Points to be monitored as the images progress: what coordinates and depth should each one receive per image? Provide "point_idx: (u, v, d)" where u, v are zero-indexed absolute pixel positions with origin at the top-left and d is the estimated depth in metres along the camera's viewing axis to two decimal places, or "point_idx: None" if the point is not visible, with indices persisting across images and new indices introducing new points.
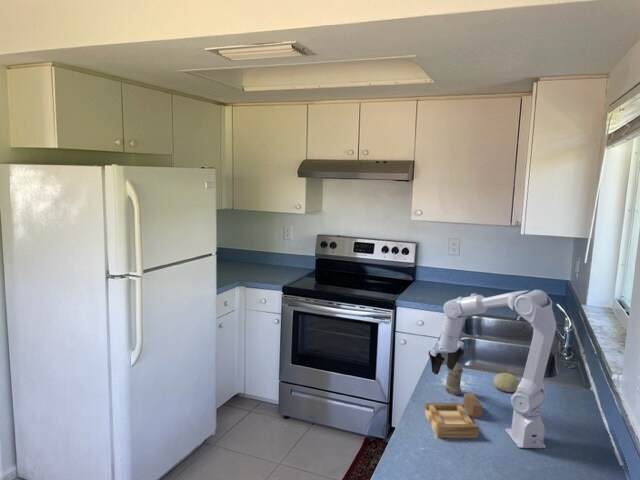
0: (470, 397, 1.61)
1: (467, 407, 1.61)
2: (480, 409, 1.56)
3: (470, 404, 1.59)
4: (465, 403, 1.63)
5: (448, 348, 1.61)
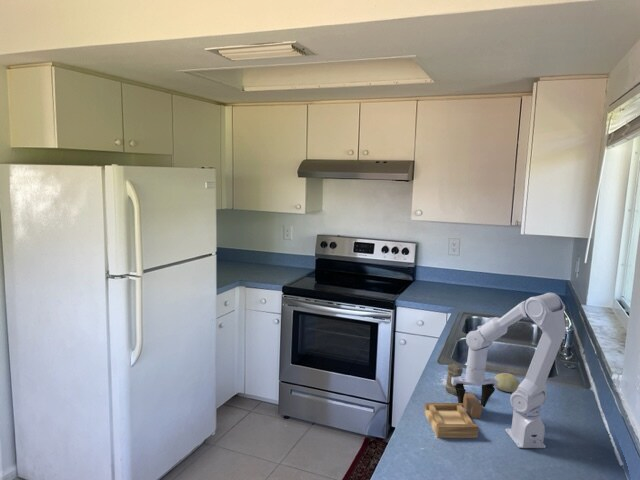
0: (470, 397, 1.61)
1: (466, 407, 1.61)
2: (480, 409, 1.56)
3: (469, 404, 1.58)
4: (465, 403, 1.63)
5: (470, 380, 1.57)
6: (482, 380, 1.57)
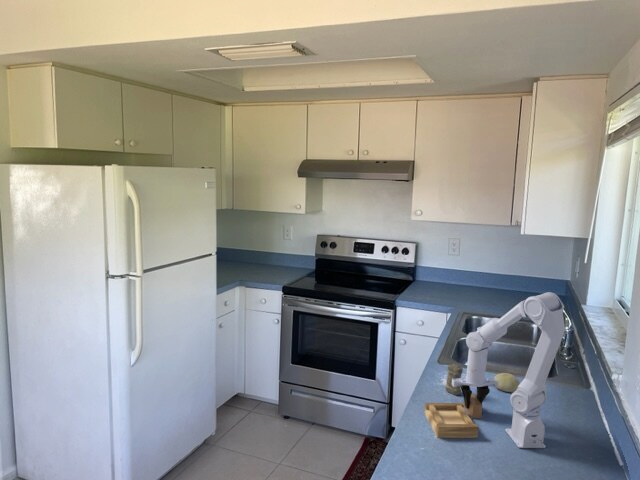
0: None
1: None
2: (480, 409, 1.56)
3: (470, 404, 1.58)
4: None
5: (471, 381, 1.57)
6: (483, 381, 1.57)
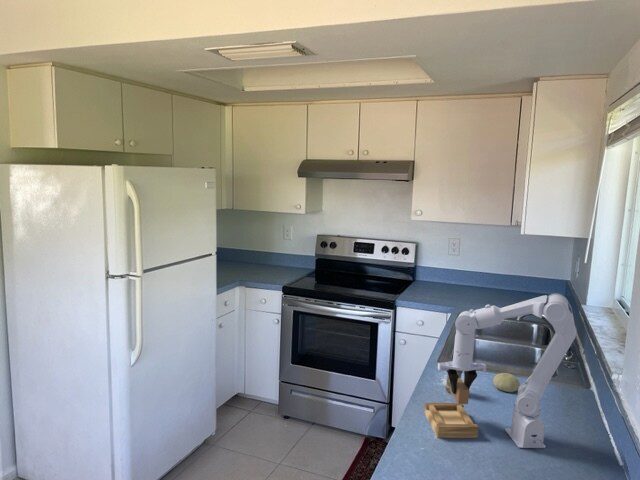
0: (457, 381, 1.54)
1: None
2: (467, 394, 1.49)
3: (456, 389, 1.51)
4: None
5: (457, 365, 1.50)
6: (470, 365, 1.50)
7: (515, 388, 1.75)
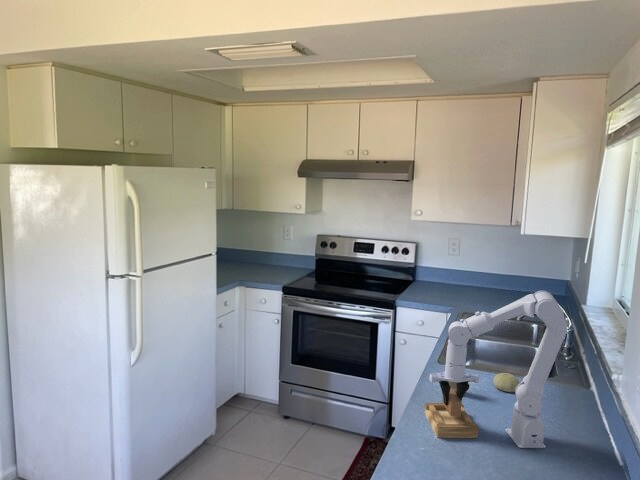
0: (449, 393, 1.52)
1: None
2: (459, 406, 1.47)
3: (449, 401, 1.49)
4: None
5: (449, 376, 1.47)
6: (462, 376, 1.47)
7: (515, 388, 1.75)
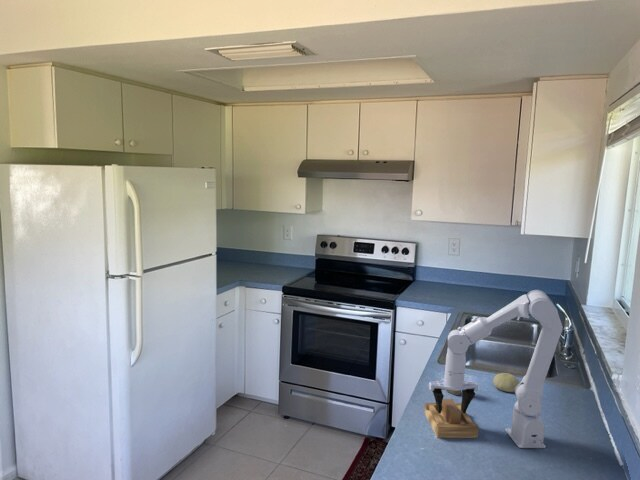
0: (449, 403, 1.52)
1: (445, 414, 1.52)
2: (459, 416, 1.47)
3: (448, 411, 1.49)
4: (444, 409, 1.54)
5: (449, 385, 1.48)
6: (461, 385, 1.48)
7: (515, 388, 1.75)
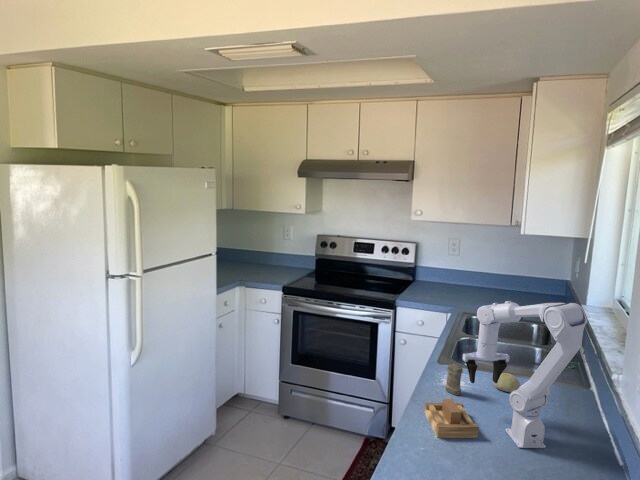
0: (449, 403, 1.52)
1: (445, 414, 1.52)
2: (459, 416, 1.47)
3: (448, 411, 1.49)
4: (444, 409, 1.54)
5: (482, 356, 1.55)
6: (494, 355, 1.55)
7: (515, 388, 1.75)
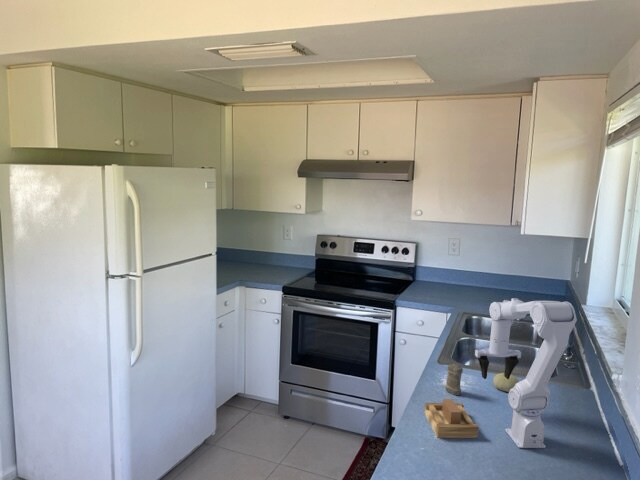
0: (449, 403, 1.52)
1: (445, 414, 1.52)
2: (459, 416, 1.47)
3: (448, 411, 1.49)
4: (444, 409, 1.54)
5: (494, 352, 1.59)
6: (506, 352, 1.59)
7: None
